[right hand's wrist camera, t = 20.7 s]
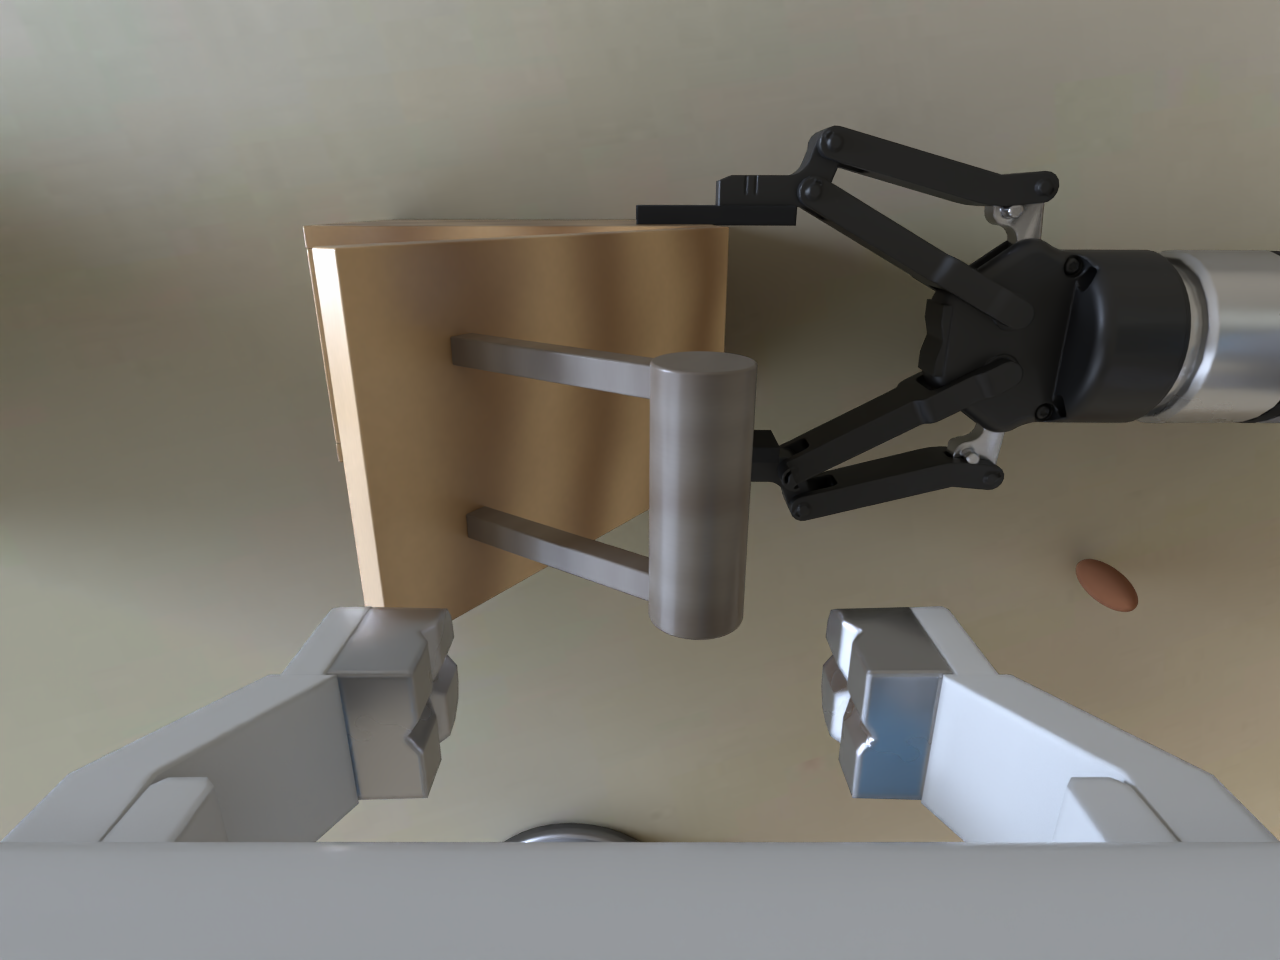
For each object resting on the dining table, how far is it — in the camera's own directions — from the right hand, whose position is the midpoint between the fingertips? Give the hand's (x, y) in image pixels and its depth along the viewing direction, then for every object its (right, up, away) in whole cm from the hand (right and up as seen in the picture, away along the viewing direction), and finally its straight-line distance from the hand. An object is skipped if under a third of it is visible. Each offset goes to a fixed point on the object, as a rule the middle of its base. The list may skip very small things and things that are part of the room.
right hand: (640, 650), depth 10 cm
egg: (+27, -3, +35) cm, 44 cm away
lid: (-2, +5, +13) cm, 14 cm away
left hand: (0, +9, +23) cm, 25 cm away
